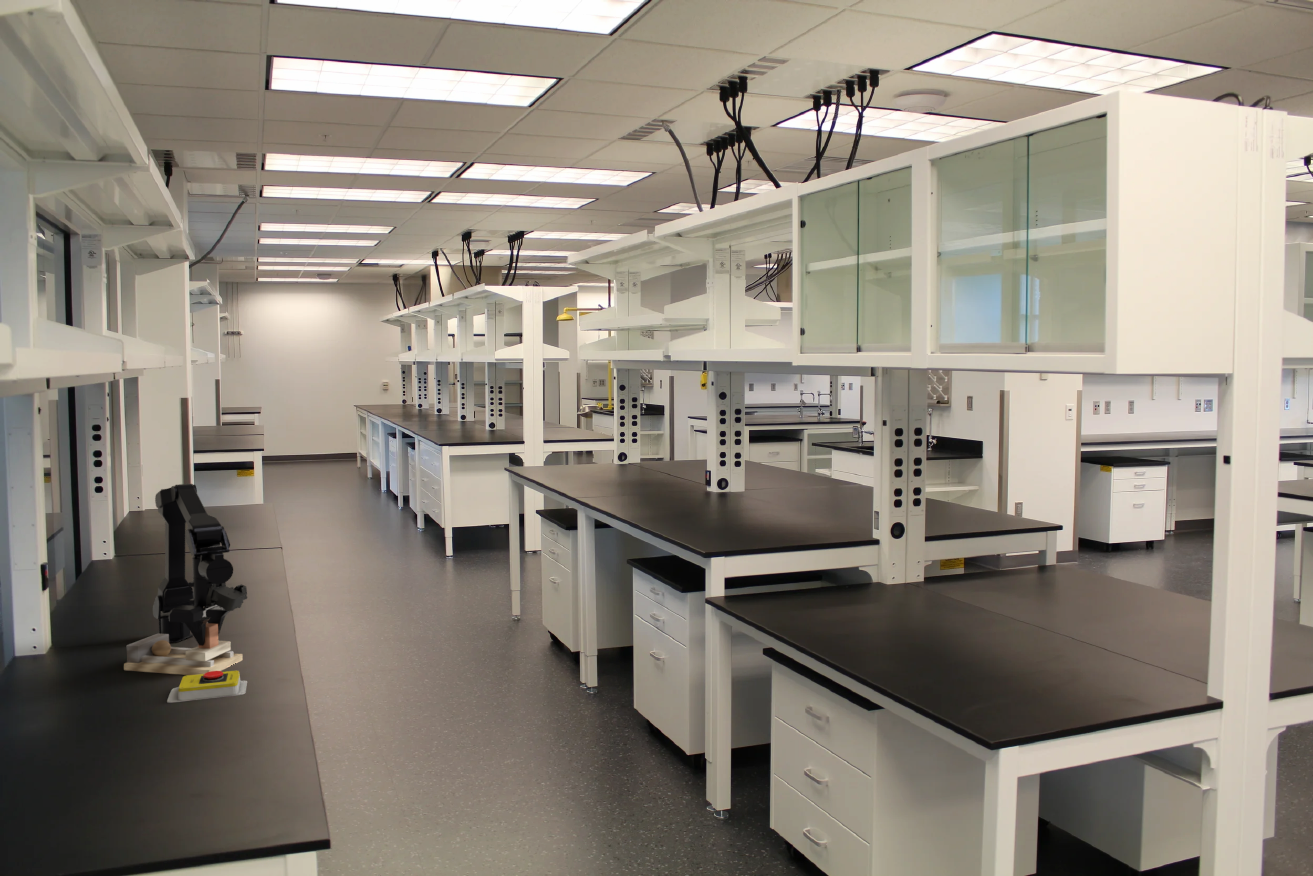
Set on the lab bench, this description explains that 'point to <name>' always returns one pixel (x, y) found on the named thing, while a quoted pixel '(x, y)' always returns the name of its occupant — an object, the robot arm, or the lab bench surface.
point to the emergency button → (208, 686)
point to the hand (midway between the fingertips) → (208, 642)
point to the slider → (209, 645)
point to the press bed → (173, 659)
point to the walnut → (161, 648)
